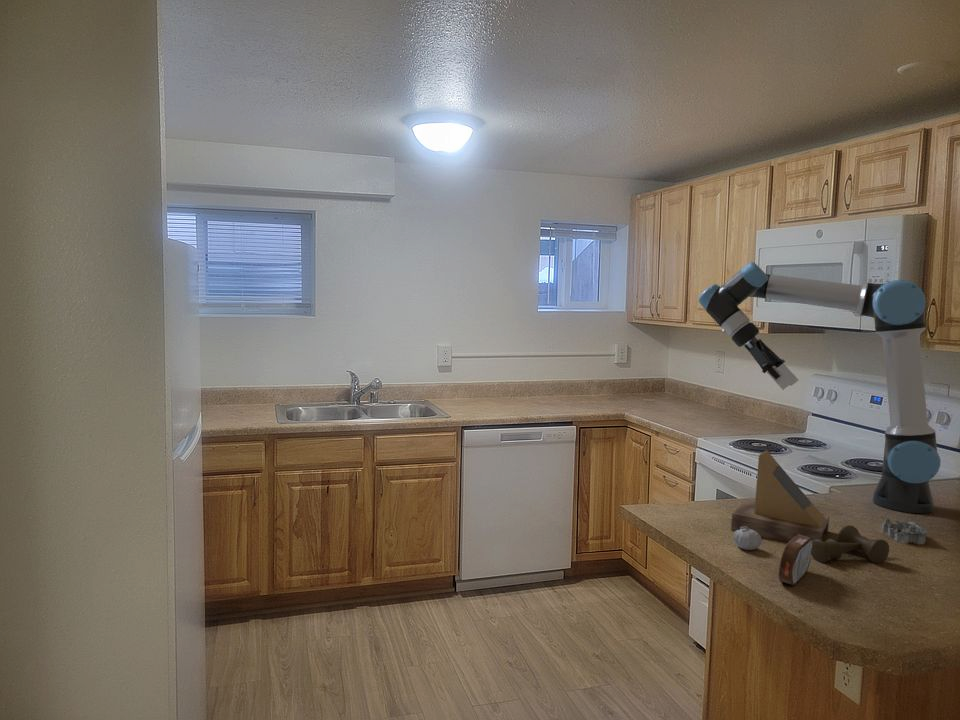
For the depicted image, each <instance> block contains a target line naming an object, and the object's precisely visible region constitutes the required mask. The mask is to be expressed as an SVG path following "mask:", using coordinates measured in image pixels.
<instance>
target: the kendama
mask: <svg viewBox="0 0 960 720" xmlns="http://www.w3.org/2000/svg"><path fill="white" fill-rule="evenodd" d="M854 550H856V551H859V552H861V553H863V554H865V555H866V556H867V558H868V559H869V561H870V562H871V563H873V564H882V563H884V562H885V561H886V560H887V558H888V557H889V554H890V545H889V542H888V541H886V540H885V539H878V538H877V539H870V538H867V537H864V536H862V535H861V533H860V532H859V530H858V529H857V527H855V526H853V525H849V524H848V525H845V526H844V527H842V528H841V529H840V530H839V532H838V535H837V540H835V539H832V538H828V539H826V540H825V541H824V540H823V539H822V540H819V539H815V540H813V547H812V550H811V557H812V558H813V560H815V561H816V562H819V563H821V564H825V563H827V562H828V561H829V560H830V559H832V560H840V558H841V557H842V555H843V554H845V553H849V552H851V551H854Z"/></svg>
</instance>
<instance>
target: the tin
mask: <svg viewBox="0 0 960 720" xmlns="http://www.w3.org/2000/svg"><path fill="white" fill-rule="evenodd" d="M812 547H813V540H812V538H810V537H807V536H803V535H801V534H798V535H797V536H796V537H794V538H793V539H792V540H791V541H789V542H786V545H785V547H784V549H783V552H782V555H781V559H780V562H779V568H778V580H779V582H780V583H785V584H787V585H791V586H795V585H796V584H797V583H798V582H799V581H800V580H801V579H802V578H803V577H804V576H805V575H806V574H807V571H808V570H809V566H810V563H811V557H812V555H811V550H812Z"/></svg>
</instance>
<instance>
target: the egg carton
mask: <svg viewBox="0 0 960 720" xmlns="http://www.w3.org/2000/svg"><path fill="white" fill-rule="evenodd" d="M880 516H881V517H880V518H883V520H884V522H883V523H882V524H881V532H882V531H883V532H882V533H886V532H887V536H888V535H889V536H888V537H890V536H891V537H890V538H894V537H895V538H894V539H893V540H894V541H895V540H896V541H895V542H898V541H899V543H902V544H906V543H908V544H909V543H912V542H913V544H916V545H920V544H921V546H922V545H923V544H926V541H927V539H926V538H927V535H926V534H928V531H927V530H925V529H924V528H923V527H921V526H919V525H917V524H916V523H915V522H914V521H904V520H901V521H899V520H895V521H894V522H891V521H890V518H889V517H885V516H884V515H880ZM898 530H901V531H898Z"/></svg>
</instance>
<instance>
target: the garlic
mask: <svg viewBox="0 0 960 720" xmlns="http://www.w3.org/2000/svg"><path fill="white" fill-rule="evenodd" d="M733 540H734V543H735V544H736V545H737V546H738V547H739V548H740V549H742V550H744V551H745V550H746V551H754V550H757V549H758V548H760V547H761V545H762V537H761V536H760V535H759V534H758V533H757V532H756V531H754V530H751V529H749V528H748V527H747V526H743V527H740V530H737V531H734V533H733Z"/></svg>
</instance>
